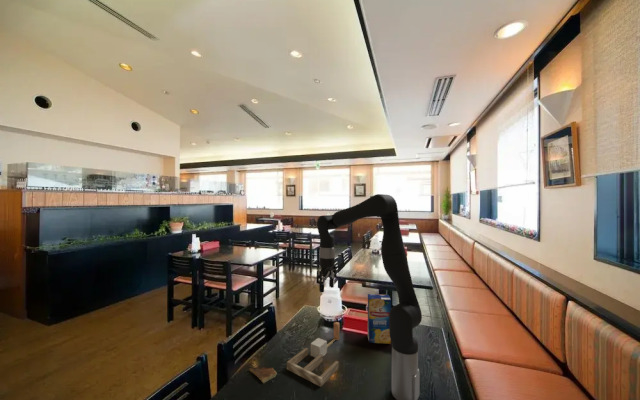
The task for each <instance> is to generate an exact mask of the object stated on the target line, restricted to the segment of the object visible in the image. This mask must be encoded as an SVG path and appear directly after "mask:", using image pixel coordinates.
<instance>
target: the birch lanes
mask: <svg viewBox="0 0 640 400" xmlns="http://www.w3.org/2000/svg"><path fill="white" fill-rule="evenodd" d="M307 356H309V347H305V348H303V349H302V350H301V351H300V352H298V353H297V354H296V355H294V356H293V357H292V358H290V359H288V361H286V370H287V371H290V372H291V373H293V374H295V375H297V376H299V377H301V378H303V379H305V380H307V381H308V382H311V383H313V384H314V385H317V386H318V387H320V388H322V387H323V385H324V384H325V383H327V382H328V380H329V379H330V378H331V377H332V376H333V375H334V374H335V373H336V372H337V371H338V370H339V365H340V364H339V361H338V360H335V361H334V362H333V363H332V364H331V365H330V366H329V367H328V368H327V369H326V370H325V371H323V373H322V374H321V375H318V374H316V373H314V372H313V371H315V369H316V368H317V367H319V366H320V365H321V364H322V363H323V361H324V358H323V357H324V356H323V355H322V354H320V355H318V356H317V357H316V358H315V357H314V359H312V360H311V361H310V362H309V363H308V364H307V365H306V366H304V367H302V366H300V365H298V364H299V363H300V362H301V361H303V360H304V358H306V357H307Z"/></svg>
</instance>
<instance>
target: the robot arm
mask: <svg viewBox="0 0 640 400" xmlns="http://www.w3.org/2000/svg"><path fill="white" fill-rule="evenodd" d="M396 201H397V200H396V199H395V198H394V197H393V196H392V195H390V194H384V193H383V194H379V193H378V194H377V193H376V194H374V195H372V196H370V197H369V198H367V199H365V200H363V201H362V202H359V203H357V204H355V205H352V206H351V207H347V208H344V209H341V210H338V211H336V212H334V213H333V214H330V215H329V214H328V215H320V216H318V218H317V220H316V228H317V231H318V236H319V257H318V259H319V260H318V262H319V264H318V265H319V266H320V270H317V271H316V284H318V285H319V286H318V288H319V289H318V290H319V292H320V293H323V294H324V292H325V283H326V281H327V280H328V279H329V280H328V281H329V282H328V284H329V288H334V285H335V279H336V278H337V277H338V276H337V275H338V274H337V273H338V272H337V265H336V264H335V262H336V259H335V258H336V251H335V236H334V235H333V234H330V232H329V230H335V229H338V228H340V227H342V226H346V225H350V224H352V223H355V222H357V221H358V220H362V219H364V218H374V217H375V218H380V220H381V223H382V231H383V234H382V240H381V246H380V255H381V259H382V265H383V268H384V271H385V273H386V274H387V276H388V277H389V279H390V280H391V282H392V283H393V285H394V287H395V289H396V293H397V297H398V304H396V305H393V306H391V310H390V313H389V332H390V339H391V395H392V397H394V398H395V400H418V399H419V397H420V389H421V388H420V380H421V379H420V377H421V376H420V368H419V343H418V341H417V339H416V338H415V337H413V333H414V331H413V329H415V328H416V327H418V326H419V325H420V324H421V322H422V319H423V315H422V309H421V307H420V304H419V300H418V298H417V294H416V291H415V288H414V285H413V280H412V275H411V271H410V267H409V262H408V257H407V252H406V249H405V245H404V244H405V243H404V239H403V236H402V230H401V226H400V217H399V210H398V205H397V202H396Z"/></svg>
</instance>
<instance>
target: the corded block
mask: <svg viewBox="0 0 640 400" xmlns="http://www.w3.org/2000/svg"><path fill="white" fill-rule="evenodd" d="M340 327H341V326H340V322H339V321H334V322H333V339H332V340H330V341H329V342H328V341H327V340H326V339H322V338H320V337H317V338H316V339H315V340H313V341H312V342H311V343H310V356H311V357H313V358H314V359H315V358H316V357H317V356H318V355H320V354H322V355H323V357H324V356H325V355H326V354H327V353H328V348H329V347H330V346H331V345H333V344H334V343H335V342H336V341H335V340H338V341H340ZM334 341H335V342H334ZM333 342H334V343H333Z"/></svg>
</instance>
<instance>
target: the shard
mask: <svg viewBox="0 0 640 400" xmlns="http://www.w3.org/2000/svg"><path fill="white" fill-rule="evenodd" d="M248 369H249V372H250V373H252V374H253V375H254V376H256V377H257V378H258V380H260V382H262V384H265V383H267V382H268V381H270V380H272V379H274V378H276V376H277V371H276V370H275V369H274V367H248Z"/></svg>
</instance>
